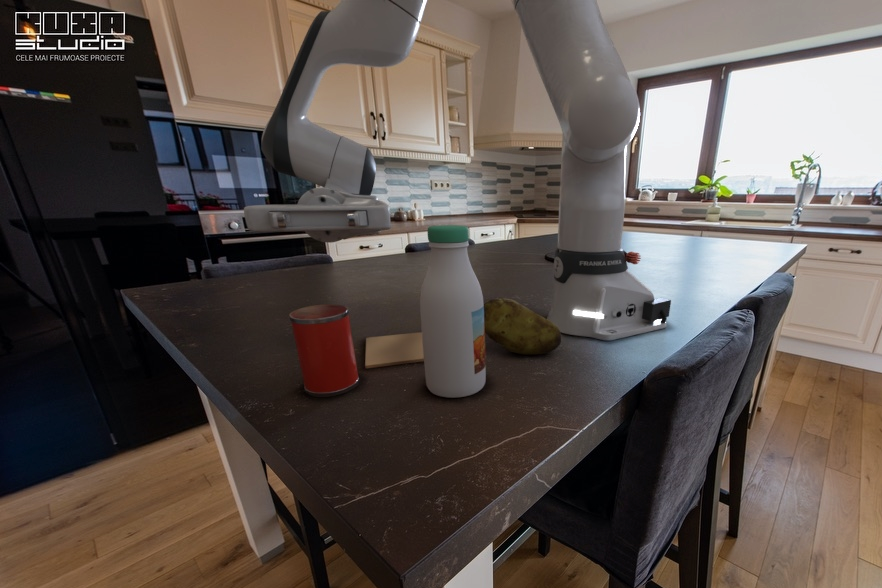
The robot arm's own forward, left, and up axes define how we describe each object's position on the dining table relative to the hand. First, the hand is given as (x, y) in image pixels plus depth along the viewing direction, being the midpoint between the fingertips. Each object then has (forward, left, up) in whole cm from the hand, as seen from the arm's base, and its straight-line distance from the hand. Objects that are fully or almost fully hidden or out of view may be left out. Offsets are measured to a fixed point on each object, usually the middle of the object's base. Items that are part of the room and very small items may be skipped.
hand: (317, 220), depth 55 cm
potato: (-27, +8, -20) cm, 35 cm away
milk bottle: (-15, +17, -20) cm, 31 cm away
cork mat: (-10, +2, -20) cm, 22 cm away
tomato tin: (0, +12, -20) cm, 23 cm away
